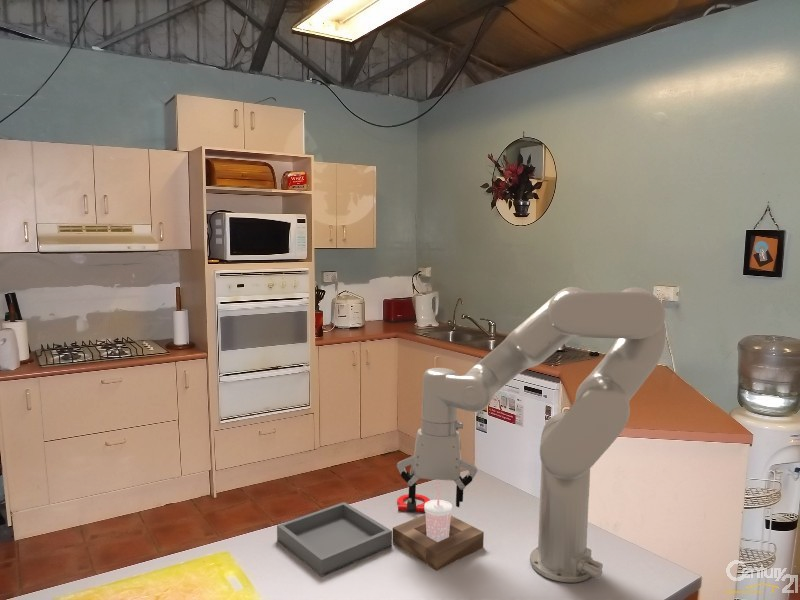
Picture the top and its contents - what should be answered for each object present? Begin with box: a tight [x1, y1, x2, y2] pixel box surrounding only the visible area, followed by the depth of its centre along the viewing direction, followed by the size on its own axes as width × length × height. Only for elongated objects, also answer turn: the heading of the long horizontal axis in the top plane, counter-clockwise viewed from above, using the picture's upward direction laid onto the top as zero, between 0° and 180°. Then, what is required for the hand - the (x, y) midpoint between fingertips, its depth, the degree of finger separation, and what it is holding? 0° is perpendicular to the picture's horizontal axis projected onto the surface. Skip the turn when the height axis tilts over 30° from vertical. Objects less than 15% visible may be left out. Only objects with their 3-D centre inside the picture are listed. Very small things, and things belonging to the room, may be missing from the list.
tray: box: [276, 501, 393, 578], centre depth 127 cm, size 18×18×4 cm
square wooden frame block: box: [392, 513, 484, 572], centre depth 126 cm, size 14×14×4 cm
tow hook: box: [396, 464, 431, 514], centre depth 146 cm, size 8×13×9 cm
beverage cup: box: [424, 482, 453, 542], centre depth 126 cm, size 6×6×14 cm
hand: (435, 502), depth 126 cm, fingers open, 9 cm apart
